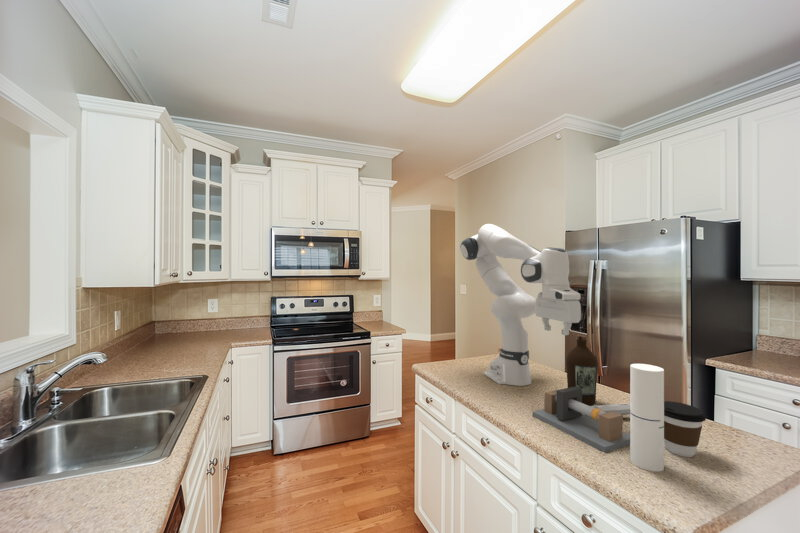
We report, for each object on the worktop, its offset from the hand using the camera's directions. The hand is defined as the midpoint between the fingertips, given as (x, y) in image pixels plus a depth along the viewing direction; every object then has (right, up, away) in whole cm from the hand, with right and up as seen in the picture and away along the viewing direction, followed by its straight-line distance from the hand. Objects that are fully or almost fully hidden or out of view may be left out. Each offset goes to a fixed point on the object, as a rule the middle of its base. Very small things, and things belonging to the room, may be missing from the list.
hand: (556, 332), depth 121 cm
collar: (+1, -26, -8) cm, 27 cm away
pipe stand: (+2, -28, -11) cm, 31 cm away
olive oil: (+14, -29, +10) cm, 34 cm away
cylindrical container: (+9, -28, -31) cm, 43 cm away
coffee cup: (+23, -28, -25) cm, 44 cm away
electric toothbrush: (+21, -29, -4) cm, 36 cm away
